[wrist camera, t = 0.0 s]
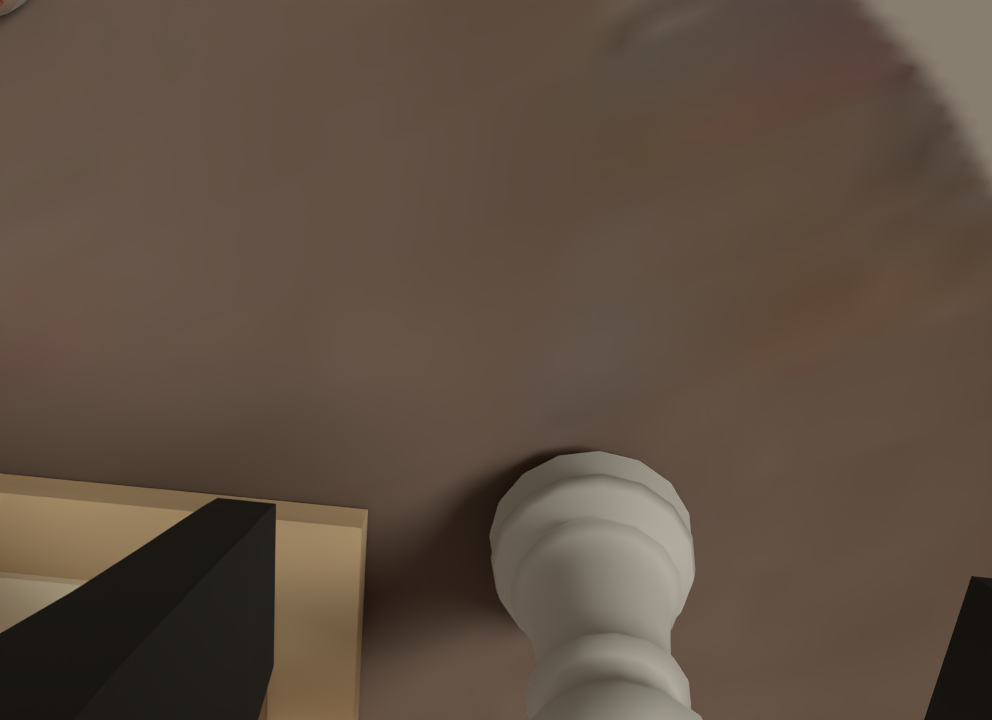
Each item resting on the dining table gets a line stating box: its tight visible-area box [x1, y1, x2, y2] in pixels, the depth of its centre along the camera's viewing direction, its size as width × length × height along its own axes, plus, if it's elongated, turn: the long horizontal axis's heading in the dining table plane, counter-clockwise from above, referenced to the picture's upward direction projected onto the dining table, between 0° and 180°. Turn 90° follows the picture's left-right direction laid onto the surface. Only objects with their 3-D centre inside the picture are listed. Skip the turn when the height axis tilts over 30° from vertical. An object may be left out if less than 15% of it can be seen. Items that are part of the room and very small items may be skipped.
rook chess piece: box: [489, 451, 702, 720], centre depth 17 cm, size 4×4×8 cm
